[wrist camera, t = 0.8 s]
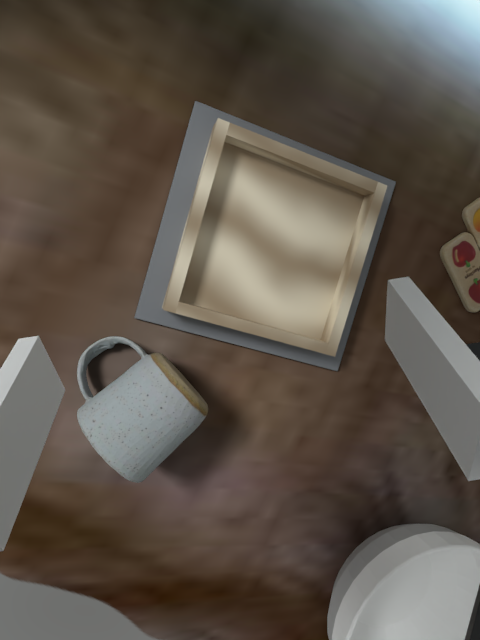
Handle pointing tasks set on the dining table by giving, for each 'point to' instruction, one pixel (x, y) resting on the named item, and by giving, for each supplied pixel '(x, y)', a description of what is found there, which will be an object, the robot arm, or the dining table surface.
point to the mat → (175, 225)
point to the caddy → (273, 241)
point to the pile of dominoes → (465, 258)
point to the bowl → (406, 586)
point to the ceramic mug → (138, 411)
